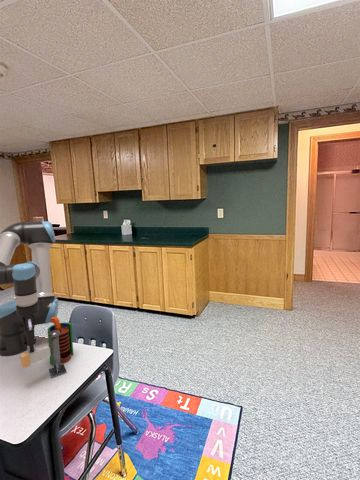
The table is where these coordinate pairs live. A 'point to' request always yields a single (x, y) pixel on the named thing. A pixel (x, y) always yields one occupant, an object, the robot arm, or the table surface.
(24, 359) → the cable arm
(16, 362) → the table surface
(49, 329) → the motor
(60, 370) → the post
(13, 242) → the robot arm
